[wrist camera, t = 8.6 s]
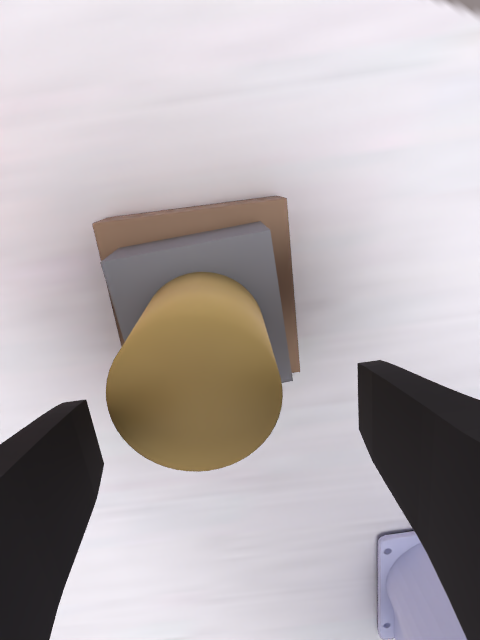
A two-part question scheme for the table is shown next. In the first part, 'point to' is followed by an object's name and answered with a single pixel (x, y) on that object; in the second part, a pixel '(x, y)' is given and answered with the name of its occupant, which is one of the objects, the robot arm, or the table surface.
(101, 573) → the table surface
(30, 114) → the table surface
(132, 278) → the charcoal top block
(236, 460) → the ochre cylinder
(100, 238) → the walnut base block
